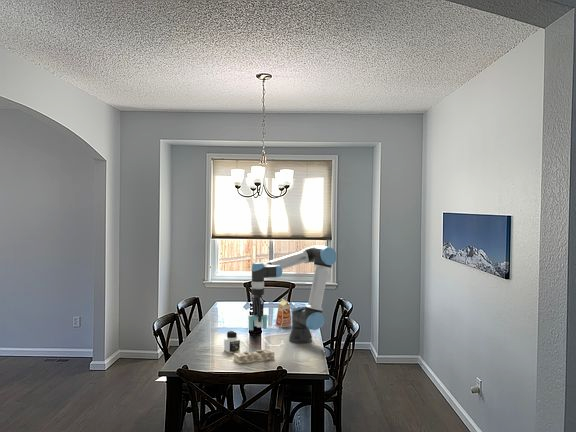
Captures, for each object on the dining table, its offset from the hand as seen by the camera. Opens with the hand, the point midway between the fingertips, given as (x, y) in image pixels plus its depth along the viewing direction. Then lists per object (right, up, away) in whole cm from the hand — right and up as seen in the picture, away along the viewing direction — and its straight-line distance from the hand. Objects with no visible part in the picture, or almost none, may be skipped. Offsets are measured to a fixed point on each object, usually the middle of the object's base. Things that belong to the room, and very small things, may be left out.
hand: (257, 326), depth 331 cm
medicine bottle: (-16, -16, +2) cm, 23 cm away
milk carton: (+15, -15, +75) cm, 78 cm away
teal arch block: (0, -2, 0) cm, 2 cm away
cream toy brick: (-1, -16, -16) cm, 23 cm away
